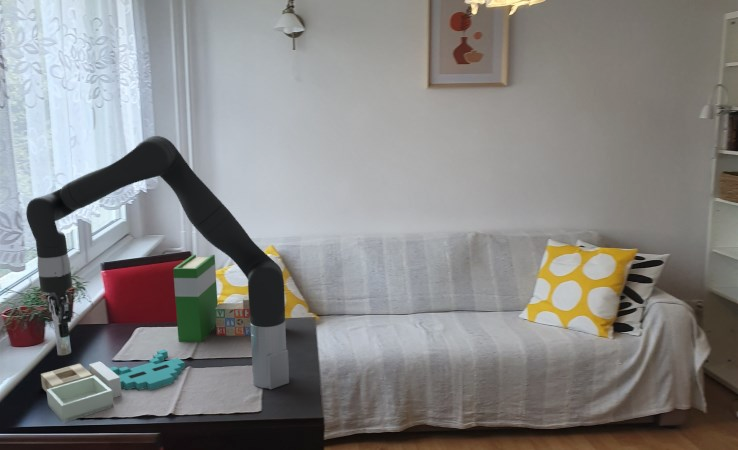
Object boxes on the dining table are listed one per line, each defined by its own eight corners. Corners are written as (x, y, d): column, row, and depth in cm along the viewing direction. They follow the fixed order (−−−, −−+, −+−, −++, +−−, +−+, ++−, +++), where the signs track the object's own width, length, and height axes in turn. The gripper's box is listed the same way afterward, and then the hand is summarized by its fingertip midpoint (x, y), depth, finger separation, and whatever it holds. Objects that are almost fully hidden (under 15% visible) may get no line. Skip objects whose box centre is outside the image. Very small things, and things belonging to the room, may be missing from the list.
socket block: (93, 388, 174) (92, 374, 173) (54, 400, 168) (52, 386, 167) (80, 376, 182) (79, 363, 181) (42, 387, 175) (40, 374, 174)
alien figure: (97, 375, 183) (125, 399, 169) (96, 368, 183) (124, 391, 168) (164, 356, 196) (196, 376, 182) (164, 349, 196) (195, 369, 181)
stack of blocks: (216, 336, 211) (213, 300, 208) (220, 329, 217) (218, 294, 215) (282, 335, 211) (280, 299, 209) (284, 328, 217) (283, 293, 215)
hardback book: (197, 322, 224) (193, 254, 219) (218, 322, 223) (214, 254, 218) (178, 341, 207) (173, 268, 202) (201, 342, 206) (196, 268, 201)
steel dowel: (72, 353, 172) (67, 313, 170) (59, 356, 170) (54, 316, 168) (69, 349, 175) (64, 310, 173) (56, 352, 173) (51, 313, 171)
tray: (113, 406, 164) (112, 390, 163) (63, 422, 156) (61, 405, 155) (96, 390, 173) (94, 375, 172) (48, 405, 165) (46, 389, 164)
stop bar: (121, 394, 170) (120, 377, 169) (110, 398, 168) (108, 380, 167) (101, 378, 180) (100, 361, 179) (90, 381, 179) (89, 364, 178)
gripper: (31, 269, 171) (39, 331, 174) (47, 280, 160) (55, 346, 164) (61, 264, 176) (68, 324, 179) (79, 274, 165) (86, 338, 169)
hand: (62, 334), depth 172 cm, fingers closed on steel dowel, 3 cm apart
